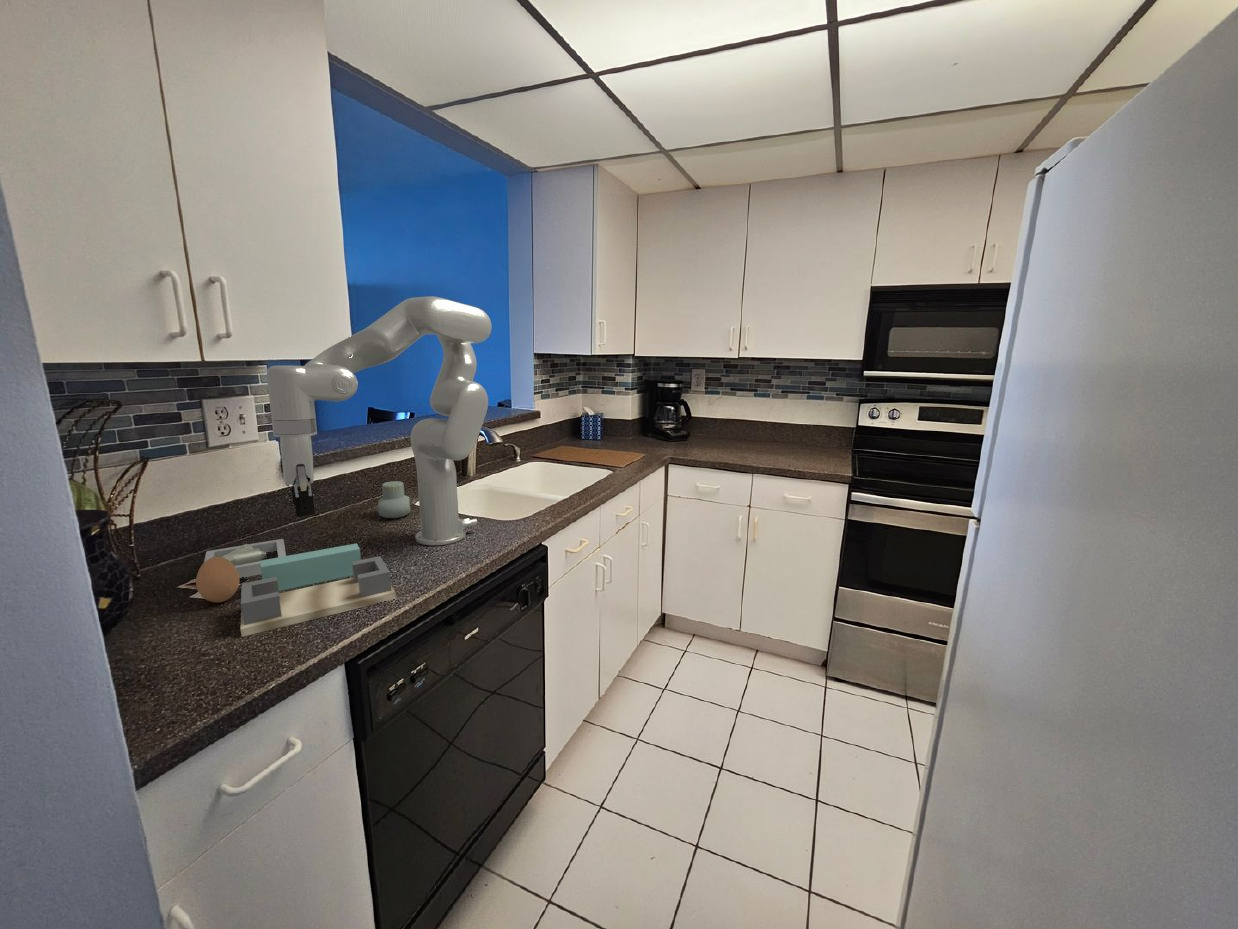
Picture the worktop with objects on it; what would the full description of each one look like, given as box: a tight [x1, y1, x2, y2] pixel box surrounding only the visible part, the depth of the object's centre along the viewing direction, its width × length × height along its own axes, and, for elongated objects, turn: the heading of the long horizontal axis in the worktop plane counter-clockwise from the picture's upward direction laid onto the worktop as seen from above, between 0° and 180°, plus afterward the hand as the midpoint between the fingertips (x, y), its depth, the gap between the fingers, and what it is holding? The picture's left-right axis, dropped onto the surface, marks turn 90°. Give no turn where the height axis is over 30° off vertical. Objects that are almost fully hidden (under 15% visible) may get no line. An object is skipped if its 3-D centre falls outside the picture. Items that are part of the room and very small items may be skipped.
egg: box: [195, 557, 240, 604], centre depth 100 cm, size 7×7×9 cm
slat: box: [261, 543, 362, 592], centre depth 110 cm, size 18×4×6 cm, turn 125°
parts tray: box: [203, 538, 287, 579], centre depth 117 cm, size 15×15×2 cm
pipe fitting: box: [222, 543, 267, 566], centre depth 117 cm, size 8×4×7 cm
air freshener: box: [377, 480, 411, 519], centre depth 153 cm, size 11×8×10 cm
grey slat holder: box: [240, 555, 392, 625], centre depth 99 cm, size 24×10×4 cm, turn 125°
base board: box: [240, 577, 397, 638], centre depth 100 cm, size 25×12×2 cm, turn 125°
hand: (303, 509), depth 107 cm, fingers open, 9 cm apart
